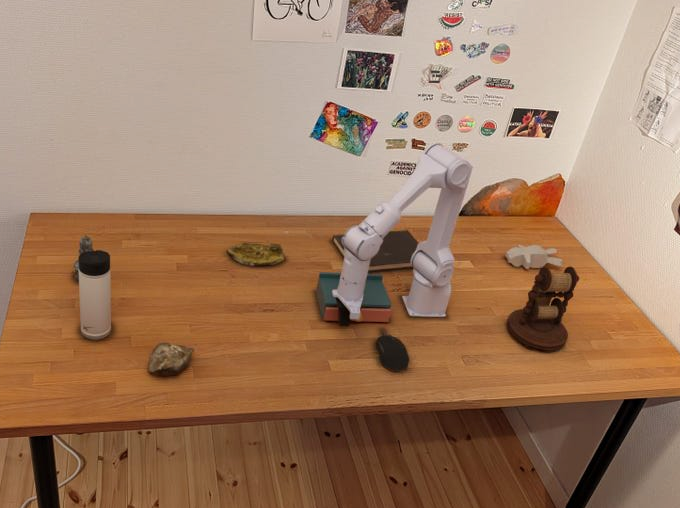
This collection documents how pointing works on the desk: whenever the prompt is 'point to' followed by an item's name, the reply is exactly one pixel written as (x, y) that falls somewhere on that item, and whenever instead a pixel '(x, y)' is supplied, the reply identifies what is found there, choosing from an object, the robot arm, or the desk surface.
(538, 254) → the bunny figurine
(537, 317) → the brown round-based upright piece
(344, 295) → the robot arm
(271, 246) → the mossy rock
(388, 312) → the drawer
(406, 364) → the gaming mouse
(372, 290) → the teal drawer box
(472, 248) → the desk surface
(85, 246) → the grey stone figurine
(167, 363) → the rock
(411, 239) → the hardcover book
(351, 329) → the desk surface
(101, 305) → the travel mug
